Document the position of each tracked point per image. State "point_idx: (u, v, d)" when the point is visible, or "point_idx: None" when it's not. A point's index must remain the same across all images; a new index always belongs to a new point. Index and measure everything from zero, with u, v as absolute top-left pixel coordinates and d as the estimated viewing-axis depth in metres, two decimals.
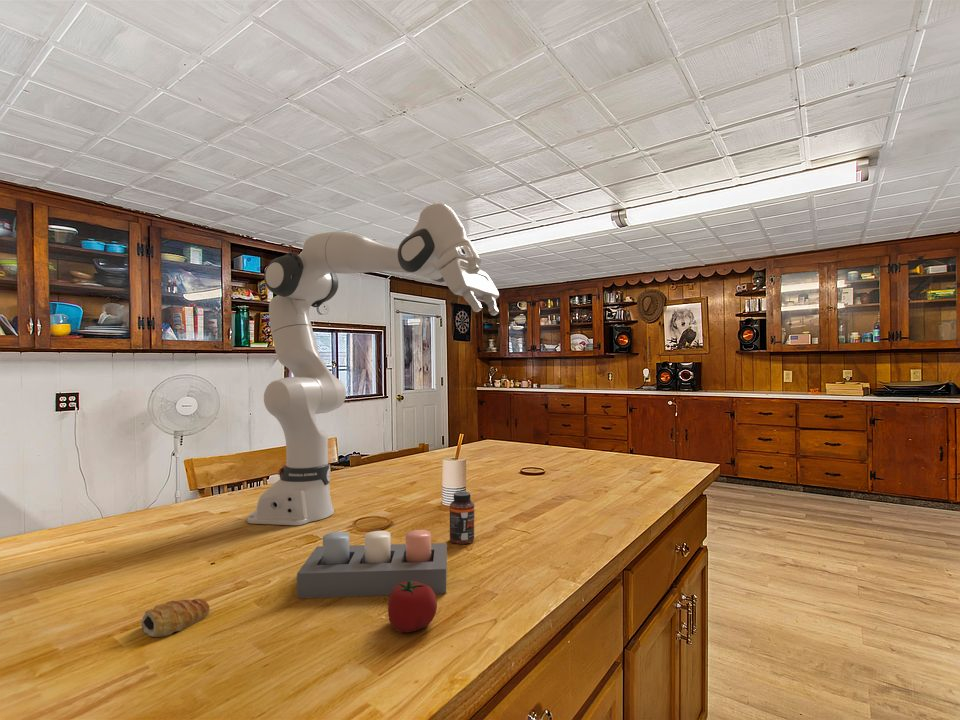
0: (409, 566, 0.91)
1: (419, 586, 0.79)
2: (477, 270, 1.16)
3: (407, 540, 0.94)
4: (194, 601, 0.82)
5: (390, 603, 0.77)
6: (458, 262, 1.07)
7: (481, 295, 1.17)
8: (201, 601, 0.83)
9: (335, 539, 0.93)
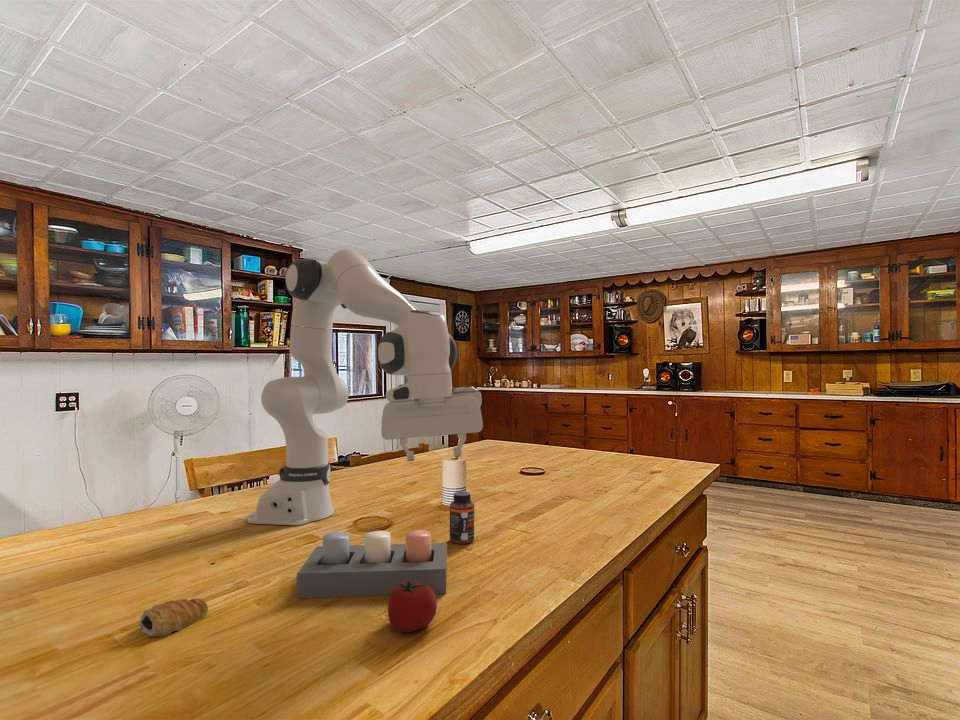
0: (409, 566, 0.91)
1: (419, 586, 0.79)
2: (438, 406, 0.96)
3: (407, 540, 0.94)
4: (192, 601, 0.82)
5: (390, 603, 0.77)
6: (387, 409, 0.94)
7: None
8: (199, 601, 0.83)
9: (335, 539, 0.93)
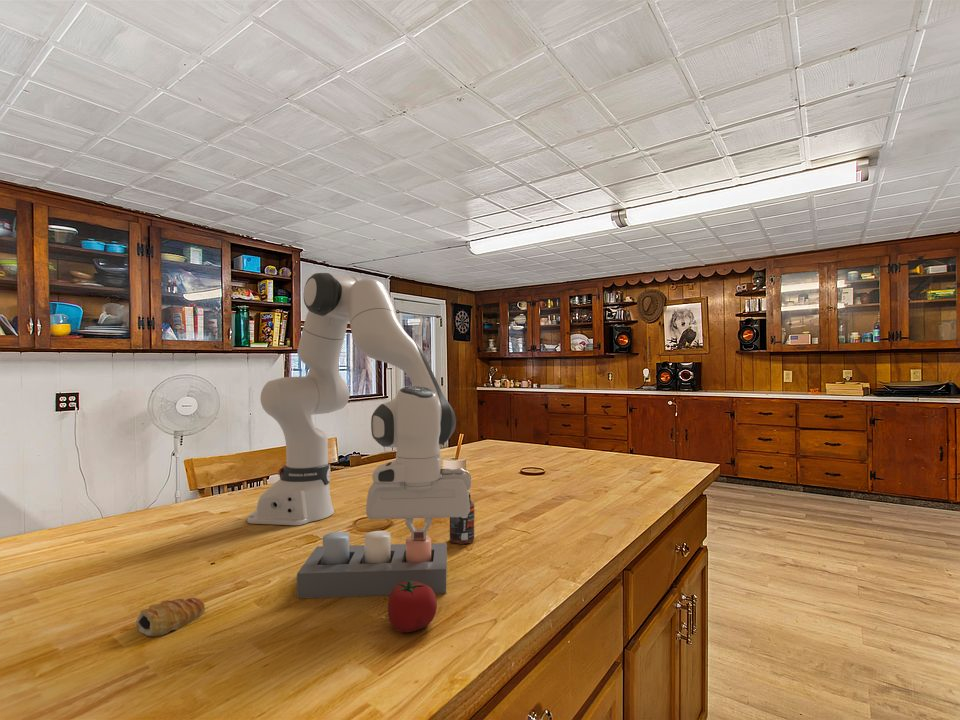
0: (409, 566, 0.91)
1: (419, 586, 0.79)
2: None
3: (407, 546, 0.94)
4: (189, 600, 0.83)
5: (390, 603, 0.77)
6: (372, 490, 0.93)
7: None
8: (196, 600, 0.83)
9: (335, 539, 0.93)
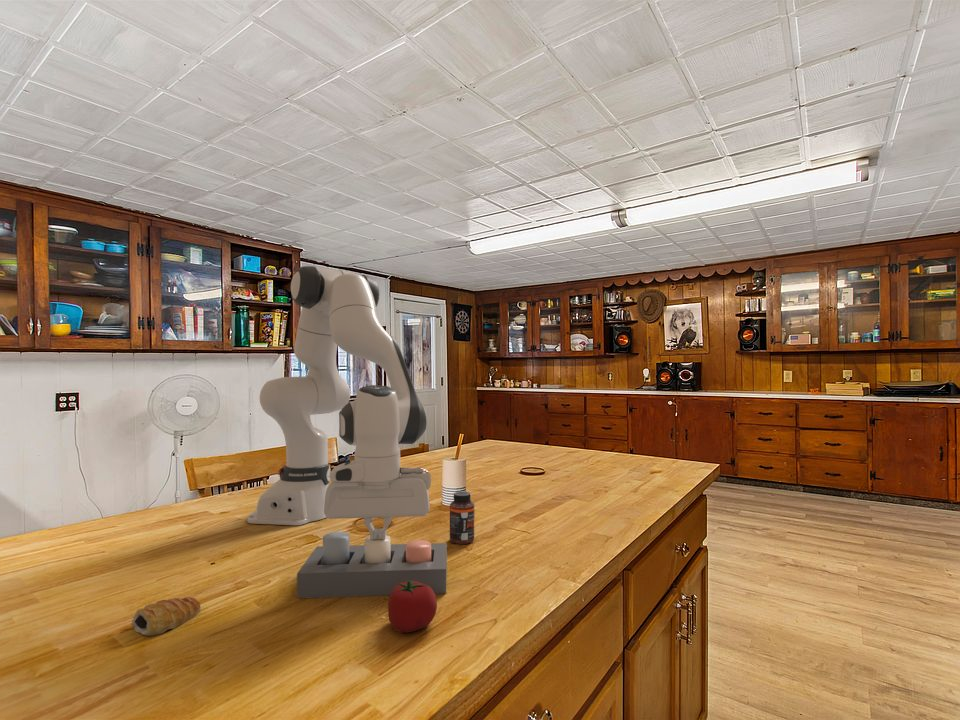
0: (409, 566, 0.91)
1: (419, 586, 0.79)
2: None
3: (407, 551, 0.94)
4: (185, 599, 0.83)
5: (390, 603, 0.77)
6: (330, 489, 0.93)
7: None
8: (192, 599, 0.83)
9: (335, 539, 0.93)
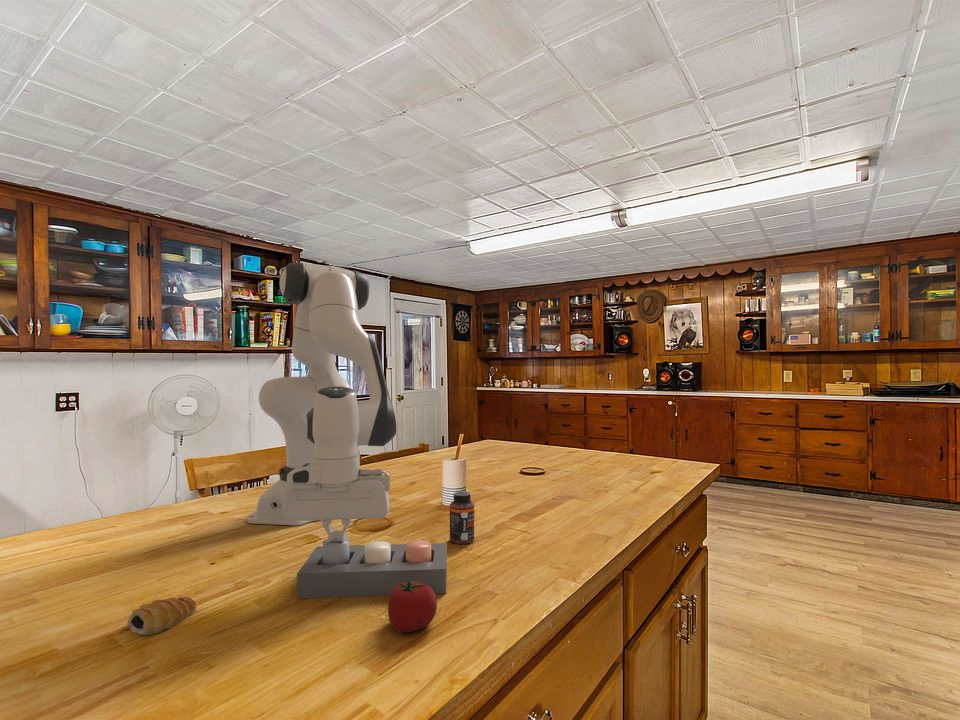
0: (409, 566, 0.91)
1: (419, 586, 0.79)
2: None
3: (407, 551, 0.94)
4: (181, 599, 0.83)
5: (390, 603, 0.77)
6: (287, 491, 0.92)
7: None
8: (187, 599, 0.84)
9: (335, 544, 0.93)
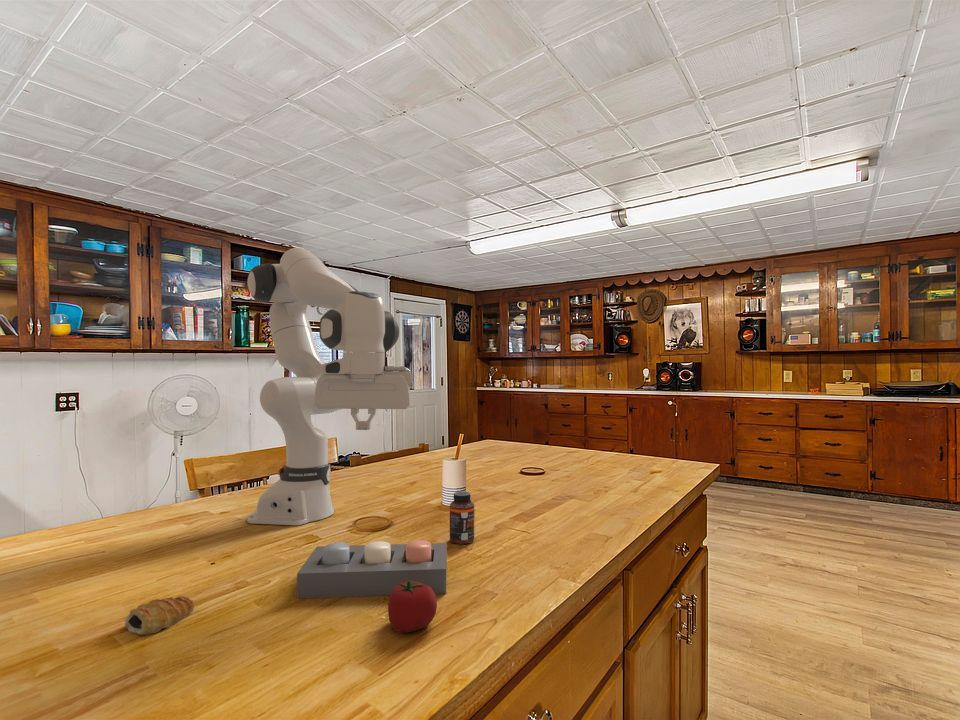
0: (409, 566, 0.91)
1: (419, 586, 0.79)
2: (367, 381, 1.03)
3: (407, 551, 0.94)
4: (178, 598, 0.83)
5: (390, 603, 0.77)
6: (320, 381, 1.02)
7: None
8: (185, 598, 0.84)
9: (335, 550, 0.93)
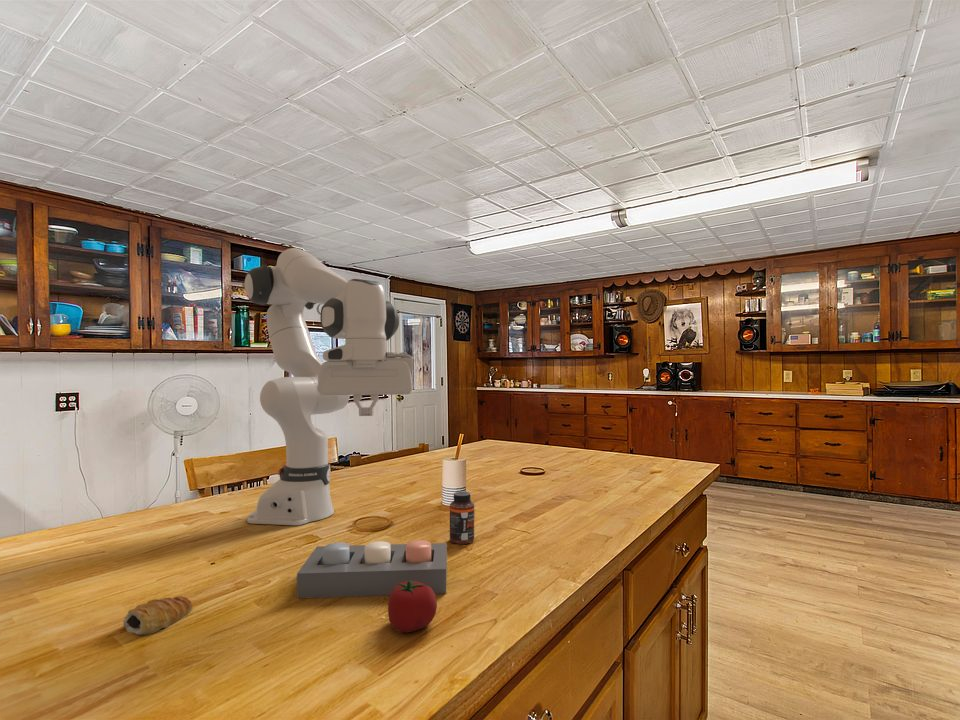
0: (409, 566, 0.91)
1: (419, 586, 0.79)
2: (370, 367, 1.04)
3: (407, 551, 0.94)
4: (176, 598, 0.83)
5: (390, 603, 0.77)
6: (323, 367, 1.03)
7: None
8: (183, 598, 0.84)
9: (335, 550, 0.93)
